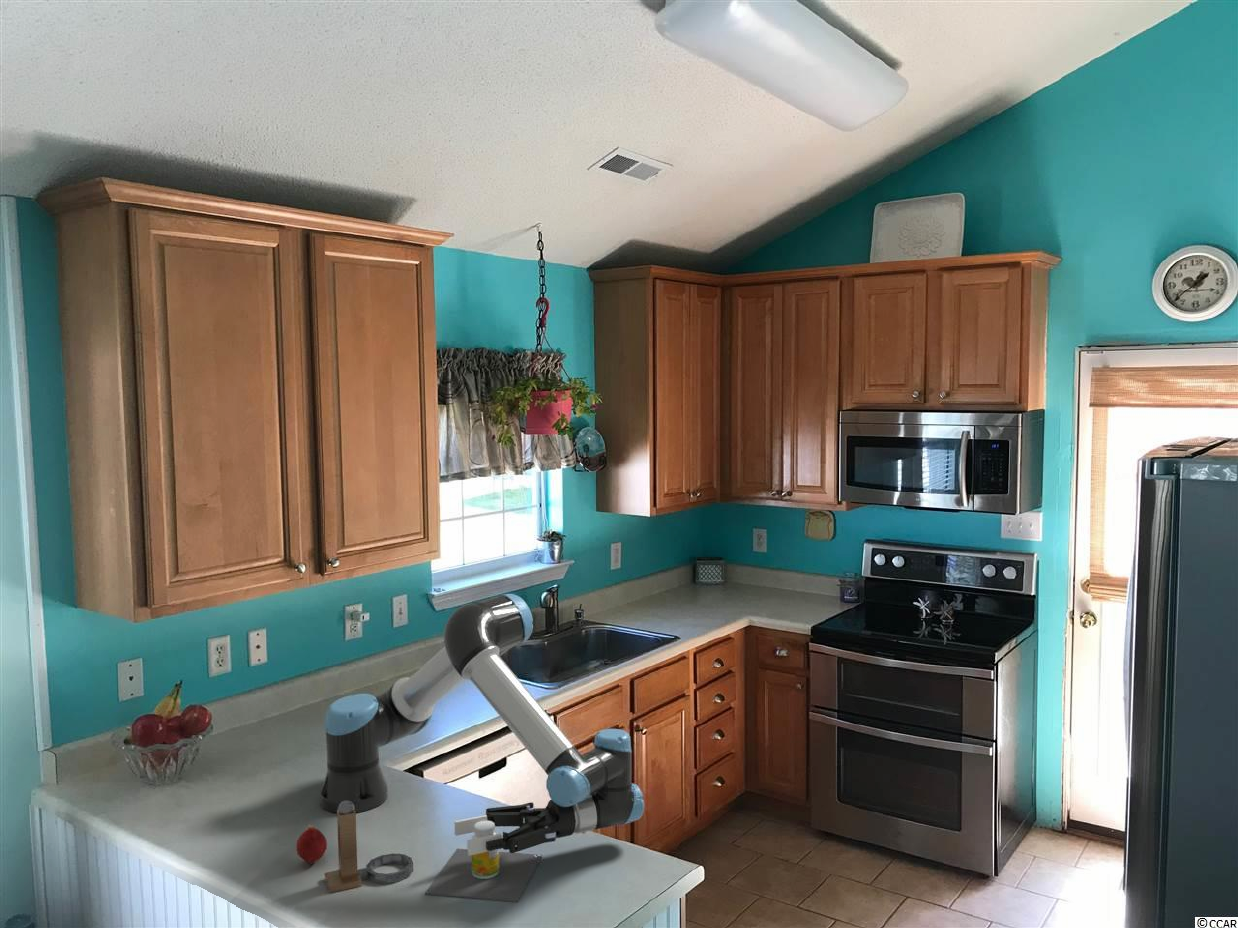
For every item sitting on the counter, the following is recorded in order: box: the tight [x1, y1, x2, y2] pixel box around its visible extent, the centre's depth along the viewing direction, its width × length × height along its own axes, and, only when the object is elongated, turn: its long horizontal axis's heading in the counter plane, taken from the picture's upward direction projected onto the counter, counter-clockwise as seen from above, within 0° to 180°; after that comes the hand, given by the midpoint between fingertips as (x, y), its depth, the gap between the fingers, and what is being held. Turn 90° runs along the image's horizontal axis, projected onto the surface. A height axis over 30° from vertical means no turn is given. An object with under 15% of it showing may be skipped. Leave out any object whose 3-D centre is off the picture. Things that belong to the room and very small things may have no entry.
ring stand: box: [324, 800, 414, 894], centre depth 189 cm, size 14×16×16 cm
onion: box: [295, 824, 328, 865], centre depth 195 cm, size 6×6×8 cm
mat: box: [424, 848, 543, 903], centre depth 190 cm, size 18×18×1 cm
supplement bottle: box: [470, 821, 500, 879], centre depth 190 cm, size 5×5×10 cm
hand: (461, 837), depth 188 cm, fingers open, 8 cm apart
